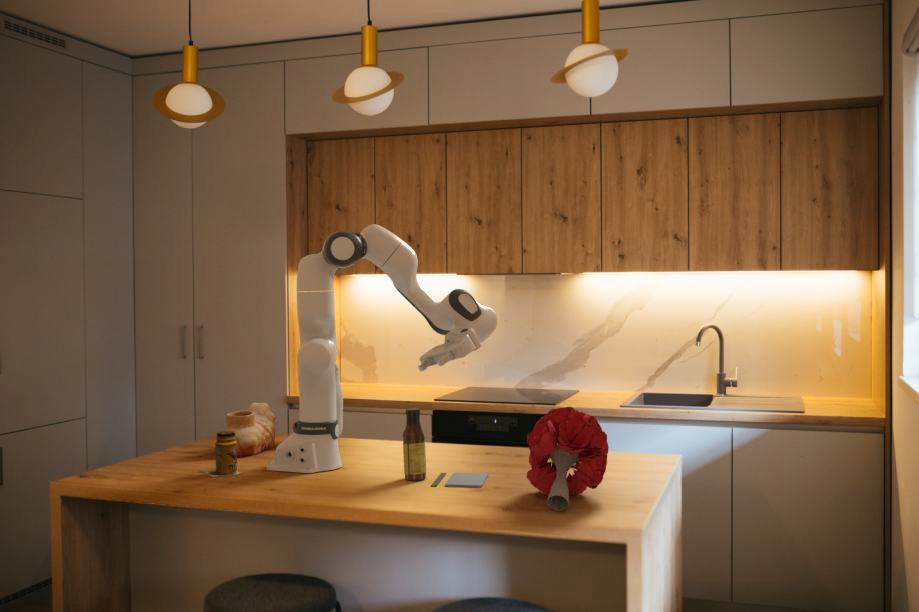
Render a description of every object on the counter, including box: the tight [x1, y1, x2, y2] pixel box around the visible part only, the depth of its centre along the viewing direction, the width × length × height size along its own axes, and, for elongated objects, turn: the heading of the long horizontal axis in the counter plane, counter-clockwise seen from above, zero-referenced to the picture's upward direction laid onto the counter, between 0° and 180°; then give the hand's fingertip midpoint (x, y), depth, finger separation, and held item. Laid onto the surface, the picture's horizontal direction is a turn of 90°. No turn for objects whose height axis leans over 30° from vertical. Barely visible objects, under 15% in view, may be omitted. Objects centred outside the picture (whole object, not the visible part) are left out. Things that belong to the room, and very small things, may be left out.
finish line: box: [430, 472, 447, 487], centre depth 245 cm, size 2×16×1 cm, turn 171°
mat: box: [444, 472, 489, 488], centre depth 244 cm, size 10×15×1 cm, turn 171°
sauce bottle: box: [402, 407, 427, 482], centre depth 246 cm, size 7×6×20 cm
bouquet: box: [525, 406, 610, 512], centre depth 222 cm, size 22×24×30 cm
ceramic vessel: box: [225, 402, 277, 458], centre depth 291 cm, size 14×26×15 cm, turn 167°
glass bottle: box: [335, 363, 344, 439], centre depth 306 cm, size 10×10×28 cm
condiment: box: [204, 430, 242, 478], centre depth 255 cm, size 7×8×12 cm
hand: (429, 366), depth 255 cm, fingers open, 8 cm apart
